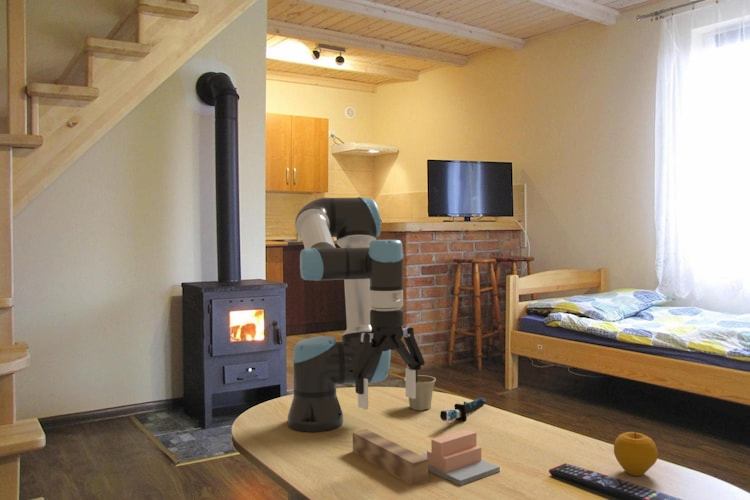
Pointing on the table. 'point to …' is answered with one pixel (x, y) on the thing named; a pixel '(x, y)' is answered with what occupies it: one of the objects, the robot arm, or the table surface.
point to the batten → (391, 456)
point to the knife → (462, 410)
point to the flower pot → (422, 393)
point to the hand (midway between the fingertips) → (387, 402)
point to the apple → (635, 452)
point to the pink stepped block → (458, 458)
